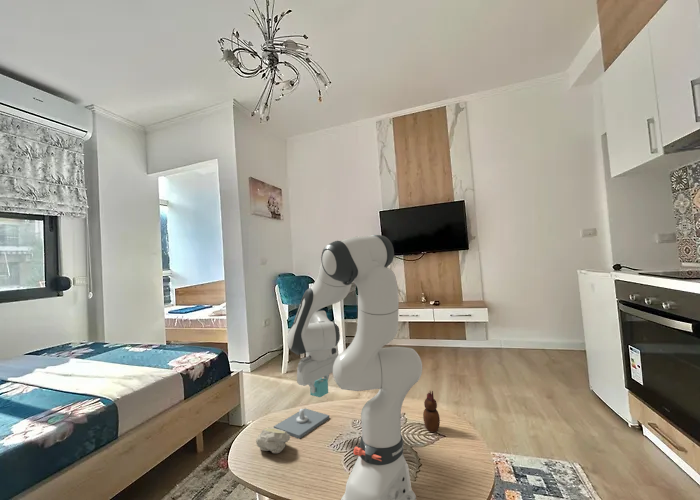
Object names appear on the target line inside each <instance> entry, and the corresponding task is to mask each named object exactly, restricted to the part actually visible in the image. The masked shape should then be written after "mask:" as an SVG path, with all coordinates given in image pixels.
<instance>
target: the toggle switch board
mask: <svg viewBox="0 0 700 500" xmlns="http://www.w3.org/2000/svg"><path fill="white" fill-rule="evenodd" d="M329 419H330V415H328V414H326V413H322V412H319V411H316V410H313V409H309V408H306V407H304V408H299V411H298V412H296V413H294V414H293V415H291V416H289V417H287V418H285V419H284V420H281V422H278V423H277V424H275V425H273V428H276V429H280V430H283V431H286V432H287V434H289V435H290V437H293V438H295V439H298V440H300V439H301V438H303V437H304V436H306V435H307V434H309V433H310V432H311V431H313V430H314V429H316V428H317V427H319V426H321V425H322V424H324V423H325V422H326V421H328V420H329Z"/></svg>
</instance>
